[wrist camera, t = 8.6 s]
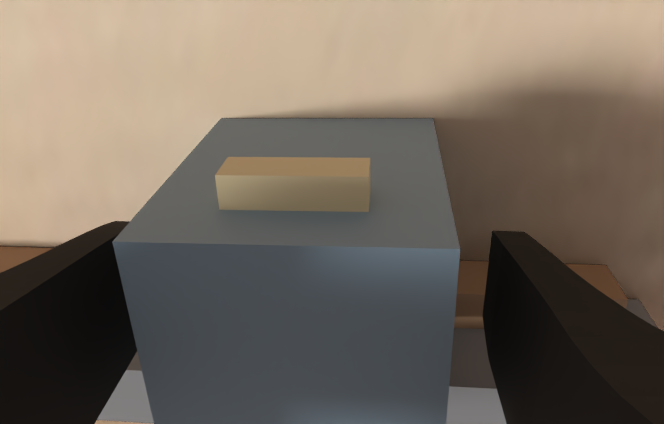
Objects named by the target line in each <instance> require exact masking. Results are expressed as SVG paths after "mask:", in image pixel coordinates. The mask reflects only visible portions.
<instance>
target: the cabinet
mask: <svg viewBox="0 0 664 424" xmlns="http://www.w3.org/2000/svg"><path fill="white" fill-rule="evenodd" d="M112 243H113V247H114V251H115V256H116V260H117V264H118V269H119V273H120V277H121V282H122V286H123V291H124V295H125V299H126V304H127V308H128V312H129V317H130V321H131V325H132V330H133V334H134V338H135V343H136V347H137V351H138V356H139V360H140V365H141V369H142V373H143V378H144V382H145V386H146V391H147V395H148V399H149V404H150V408H151V412H152V417H153V421H154V424H446V420H447V408H448V395H449V383H450V371H451V358H452V346H453V333H454V321H455V309H456V296H457V284H458V271H459V259H460V245H459V241H458V236H457V231H456V226H455V221H454V217H453V212H452V207H451V202H450V197H449V193H448V188H447V183H446V178H445V174H444V169H443V164H442V159H441V154H440V150H439V145H438V140H437V135H436V130H435V126H434V121H433V118H221V119H220V120H219V121H218V123H217V124H216V125H215V126H214V127H213V128H212V129H211V130H210V132H209V133H208V134H207V135H206V136H205V137H204V138H203V140H202V141H201V142H200V143H199V144H198V145H197V146H196V147H195V149H194V150H193V151H192V152H191V153H190V154H189V155H188V157H187V158H186V159H185V160H184V161H183V162H182V163H181V164H180V166H179V167H178V168H177V169H176V170H175V171H174V172H173V174H172V175H171V176H170V177H169V178H168V179H167V180H166V181H165V183H164V184H163V185H162V186H161V187H160V188H159V189H158V191H157V192H156V193H155V194H154V195H153V196H152V197H151V198H150V200H149V201H148V202H147V203H146V204H145V205H144V206H143V208H142V209H141V210H140V211H139V212H138V213H137V214H136V215H135V217H134V218H133V219H132V220H131V221H130V222H129V223H128V225H127V226H126V227H125V228H124V229H123V230H122V231H121V232H120V234H119V235H118V236H117V237H116V238H115V239H114V240H113V242H112Z"/></svg>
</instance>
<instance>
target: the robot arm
mask: <svg viewBox="0 0 664 424" xmlns="http://www.w3.org/2000/svg"><path fill="white" fill-rule="evenodd" d="M128 223H129V222H124V221H114V222H111V223H108V224H105V225H103V226H100V227H98V228H95V229H93V230H91V231H88V232H86V233H84V234H82V235H80V236H78V237H76V238H74V239H71V240H69V241H67V242H65V243H63V244H61V245H59V246H57V247H55V248H53V249H51V250H49V251H47V252H45V253H42V254H40V255H38V256H36V257H34V258H32V259H30V260H28V261H26V262H23V263H21V264H19V265H17V266H15V267H12V268H10V269H8V270H6V271H3V272H1V273H0V424H95V422H96V420H97V419H98V417H99V415H100V414H101V412H102V410H103V408H104V407H105V405H106V403H107V402H108V400H109V398H110V397H111V395H112V393H113V392H114V390H115V388H116V387H117V385H118V383H119V381H120V380H121V378H122V376H123V375H124V373H125V371H126V370H127V368H128V366H129V364H130V363H131V361H132V359H133V357H134V356H135V354H136V352H137V347H136V343H135V338H134V334H133V330H132V325H131V321H130V317H129V312H128V308H127V304H126V299H125V295H124V291H123V286H122V282H121V277H120V273H119V269H118V264H117V260H116V256H115V251H114V247H113V243H112V242H113V240H114V239H115V238H116V237H117V236H118V235H119V234H120V232H121V231H122V230H123V229H124V228H125V227H126V226H127V225H128ZM482 316H483V324H484V332H485V339H486V346H487V353H488V359H489V363H490V366H491V370H492V374H493V377H494V381H495V384H496V388H497V392H498V395H499V399H500V402H501V406H502V409H503V413H504V416H505V420H506V423H507V424H664V331H662V330H660V329H658V328H657V327H655V326H653V325H651V324H650V323H648V322H646V321H644V320H643V319H641V318H640V317H638V316H636V315H635V314H633V313H632V312H630V311H628V310H627V309H625V308H624V307H622V306H621V305H620V304H618V303H617V302H615V301H614V300H612V299H611V298H609V297H608V296H606V295H605V294H603V293H602V292H601V291H599V290H598V289H597V288H595V287H594V286H592V285H591V284H590V283H588V282H587V281H586V280H584V279H583V278H582V277H580V276H579V275H578V274H577V273H575V272H574V271H573V270H571V269H570V268H569V267H568V266H566V265H565V264H564V263H563V262H561V261H560V260H559V259H558V258H557V257H555V256H554V255H553V254H552V253H550V252H549V251H548V250H547V249H546V248H544V247H543V246H542V245H541V244H539V243H538V242H537V241H536V240H535V239H533V238H532V237H531V236H529V235H528V234H526V233H525V232H512V231H492V238H491V247H490V255H489V264H488V272H487V281H486V289H485V298H484V306H483V314H482Z"/></svg>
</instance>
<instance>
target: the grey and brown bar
mask: <svg viewBox="0 0 664 424" xmlns="http://www.w3.org/2000/svg"><path fill="white" fill-rule="evenodd" d="M51 249H53V248H32V247H0V273H1V272H3V271H6V270H8V269H10V268H12V267H15V266H17V265H19V264H21V263H23V262H26V261H28V260H30V259H32V258H34V257H36V256H38V255H40V254H42V253H45V252H47V251H49V250H51ZM488 264H489V261H459V271H458V284H457V296H456V309H455V321H454V333H453V346H452V358H451V371H450V383H449V395H448V408H447V420H446V424H507V423H506V420H505V416H504V413H503V409H502V406H501V402H500V399H499V395H498V392H497V388H496V384H495V381H494V377H493V374H492V370H491V366H490V363H489V359H488V353H487V346H486V339H485V332H484V324H483V316H482V314H483V306H484V298H485V289H486V281H487V272H488ZM565 265H566V266H568V267H569V268H570V269H571V270H573V271H574V272H575V273H577V274H578V275H579V276H580V277H582V278H583V279H584V280H586V281H587V282H588V283H590V284H591V285H592V286H594V287H595V288H597V289H598V290H599V291H601V292H602V293H603V294H605V295H606V296H608V297H609V298H611V299H612V300H614V301H615V302H617V303H618V304H620V305H621V306H622V307H624V308H625V309H627V310H628V311H630V312H632V313H633V314H635V315H636V316H638V317H640V318H641V319H643V320H644V321H646V322H648V323H650V324H651V325H653V326H655V327H657V326H656V324H655V323H654V321H653V320H652V318H651V317H650V315H649V314H648V312H647V311H646V309H645V308H644V306H643V305H642V303H641V301H640V300H639V299H627V297H626V296H625V294H624V293H623V291H622V289H621V288H620V286H619V285H618V283H617V281H616V280H615V278H614V277H613V275H612V273H611V272H610V270H609V269H608V267H607V265H587V264H565ZM657 328H658V327H657ZM97 420H107V421H124V422H140V423H154V421H153V417H152V412H151V408H150V404H149V399H148V395H147V391H146V386H145V382H144V378H143V373H142V369H141V365H140V360H139V356H138V351H137V352H136V354H135V356H134V357H133V359H132V361H131V363H130V364H129V366H128V368H127V370H126V371H125V373H124V375H123V376H122V378H121V380H120V381H119V383H118V385H117V387H116V388H115V390H114V392H113V393H112V395H111V397H110V398H109V400H108V402H107V403H106V405H105V407H104V408H103V410H102V412H101V414H100V415H99V417H98V419H97Z"/></svg>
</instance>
